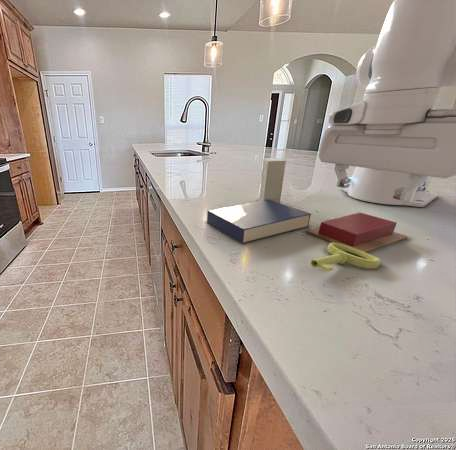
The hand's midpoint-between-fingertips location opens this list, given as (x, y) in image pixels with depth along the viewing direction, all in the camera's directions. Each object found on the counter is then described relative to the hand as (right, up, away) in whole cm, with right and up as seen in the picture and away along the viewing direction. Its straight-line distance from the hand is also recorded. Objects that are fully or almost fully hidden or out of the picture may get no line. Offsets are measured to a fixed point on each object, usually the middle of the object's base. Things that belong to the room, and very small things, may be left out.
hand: (369, 192), depth 45 cm
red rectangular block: (0, -8, +3) cm, 8 cm away
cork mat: (0, -8, +3) cm, 9 cm away
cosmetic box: (-8, 0, +23) cm, 24 cm away
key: (-10, -12, -6) cm, 17 cm away
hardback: (-17, -6, +10) cm, 21 cm away
